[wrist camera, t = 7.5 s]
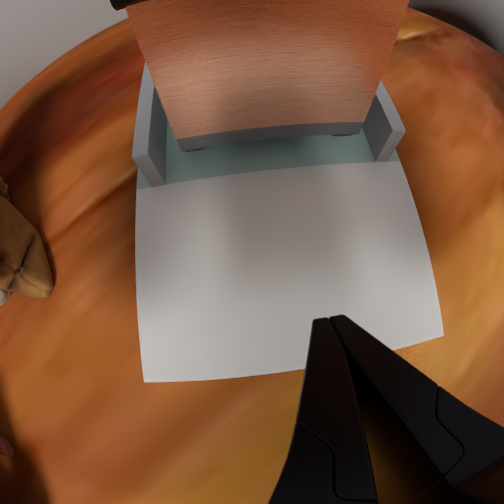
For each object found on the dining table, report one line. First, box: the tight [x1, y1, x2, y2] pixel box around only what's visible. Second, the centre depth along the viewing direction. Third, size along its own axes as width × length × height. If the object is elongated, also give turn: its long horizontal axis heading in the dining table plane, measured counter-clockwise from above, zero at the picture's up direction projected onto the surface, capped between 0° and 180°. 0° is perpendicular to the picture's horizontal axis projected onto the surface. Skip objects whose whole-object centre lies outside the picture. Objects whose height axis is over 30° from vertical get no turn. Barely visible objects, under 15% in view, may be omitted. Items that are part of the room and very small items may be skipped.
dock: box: [132, 62, 444, 382], centre depth 14 cm, size 24×15×6 cm, turn 7°
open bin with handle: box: [110, 0, 409, 152], centre depth 12 cm, size 10×10×11 cm
